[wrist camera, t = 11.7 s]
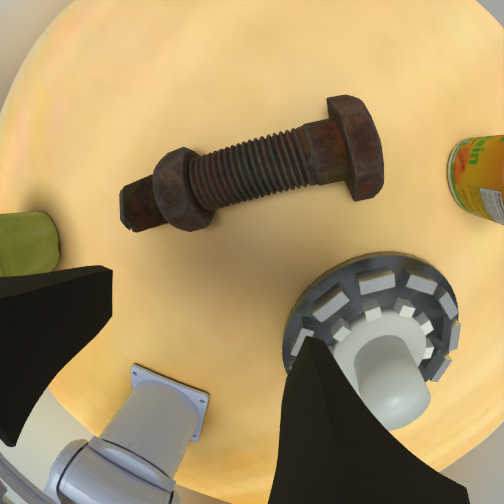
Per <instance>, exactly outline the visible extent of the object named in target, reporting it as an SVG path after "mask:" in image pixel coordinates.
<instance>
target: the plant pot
mask: <svg viewBox="0 0 504 504" xmlns="http://www.w3.org/2000/svg"><path fill="white" fill-rule="evenodd" d="M58 241H59V236H58V233H57V230H56V227H55V225H54V223H53V221H52V220H51V218H50V217H49V216H48V215H47V214H45V213H43V212H39V211H34V212H22V213H9V214H0V277H8V276H23V275H32V274H39V273H47V272H50V271H52V270H53V269H54V268H55V267H56V266H57V264H58V262H59V258H60V253H59V249H58Z"/></svg>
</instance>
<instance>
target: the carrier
mask: <svg viewBox="0 0 504 504" xmlns="http://www.w3.org/2000/svg"><path fill="white" fill-rule="evenodd" d="M398 297H399V298H402V299H406V300H409V301H410V302H411V303H412V305H413V306H414V307H415V311H414V313H413V316H414V317H417V316H418V315H419V314H421V313H422V312H424V314H425V315H426V316H427V318H428V319H429V320H430V322H431V325H432V327H433V329H434V330H432V331H431V332H430V333H428V334H427V335H425V336H426V338H429V340H430V341H431V343H432V344H433V346H434V349H433V352H432V355H431V358H427V359H422V361H421V363H420V364H419V366H418V369H419V371H420V373H421V375H422V377H423V379H424V381H425V382H427V381H428V380H429V379H430V381H434V382H438V380H439V379H440V378H441V376H442V375H443V373H444V372H445V371H446V369H447V368H448V366H449V365H450V363H451V362H452V359H451V358H450V356H449V355H448V354H449V352H450V351H452V350H454V349H457V347H458V340H459V334H460V326H461V324H460V323H459V322H458V313H459V312H458V305H457V301H456V297H455V294H454V292H453V290H452V287H451V286H450V284H449V283H448V281H447V280H446V278H445V277H444V276H443V275H442V274H441V273H440V272H439V271H438V270H436V269H435V268H434V267H433V266H431V265H430V264H428V263H427V262H425V261H424V260H422V259H420V258H417V257H415V256H412V255H409V254H405V253H399V252H377V253H371V254H365V255H362V256H359V257H355V258H352V259H350V260H348V261H345V262H343V263H341V264H339V265H337V266H335V267H334V268H332V269H330V270H329V271H327V272H326V273H325V274H323V275H322V276H321V277H319V278H318V279H317V280H316V281H315V282H314V283H312V284H311V285H310V286H309V287H308V288H307V289H306V291H305V292H304V293H303V294H302V295H301V297H300V298H299V299H298V301H297V303H296V304H295V306H294V307H293V309H292V311H291V313H290V315H289V318H288V320H287V324H286V327H285V331H284V338H283V346H282V355H283V362H284V367H285V370H286V373H287V375H288V374H289V372H290V370H291V367H292V365H293V363H294V361H295V359H296V357H297V354H298V352H299V350H300V348H301V346H302V343H303V341H304V339H305V336H306V335H307V336H311V337H315V338H319V339H323V340H324V342H325V343H326V345H327V346H333V343H334V341H335V338H333V337H332V330H331V327H332V326H333V325H334V324H335V322H336V321H337V320H338V319H339V318H340V317H342V318H343V319H345V320H346V321H348V322H349V321H351V320H352V319H353V318H355V317H356V316H358V315H360V314H361V313H363V309H362V304H361V303H363V302H366V301H369V300H372V299H376V301H377V302H378V304H379V306H380V307H393V306H394V304H395V302H396V300H397V298H398Z"/></svg>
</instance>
